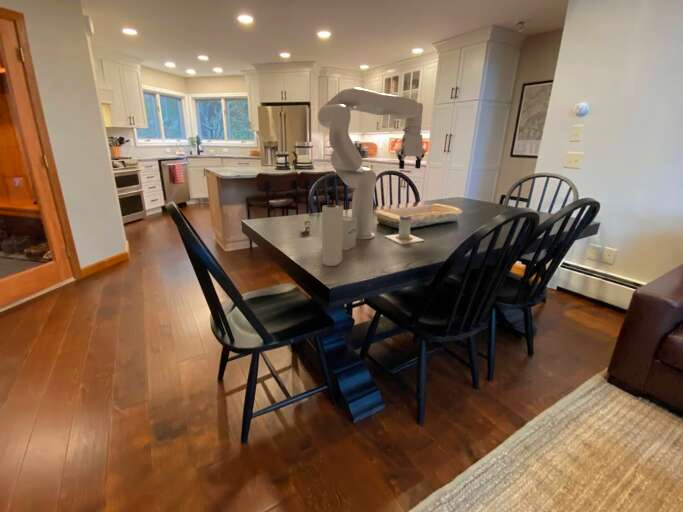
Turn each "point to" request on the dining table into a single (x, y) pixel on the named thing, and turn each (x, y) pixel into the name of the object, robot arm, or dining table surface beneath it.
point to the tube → (404, 227)
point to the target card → (404, 241)
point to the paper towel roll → (332, 234)
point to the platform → (307, 225)
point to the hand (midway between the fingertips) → (409, 168)
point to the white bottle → (349, 233)
